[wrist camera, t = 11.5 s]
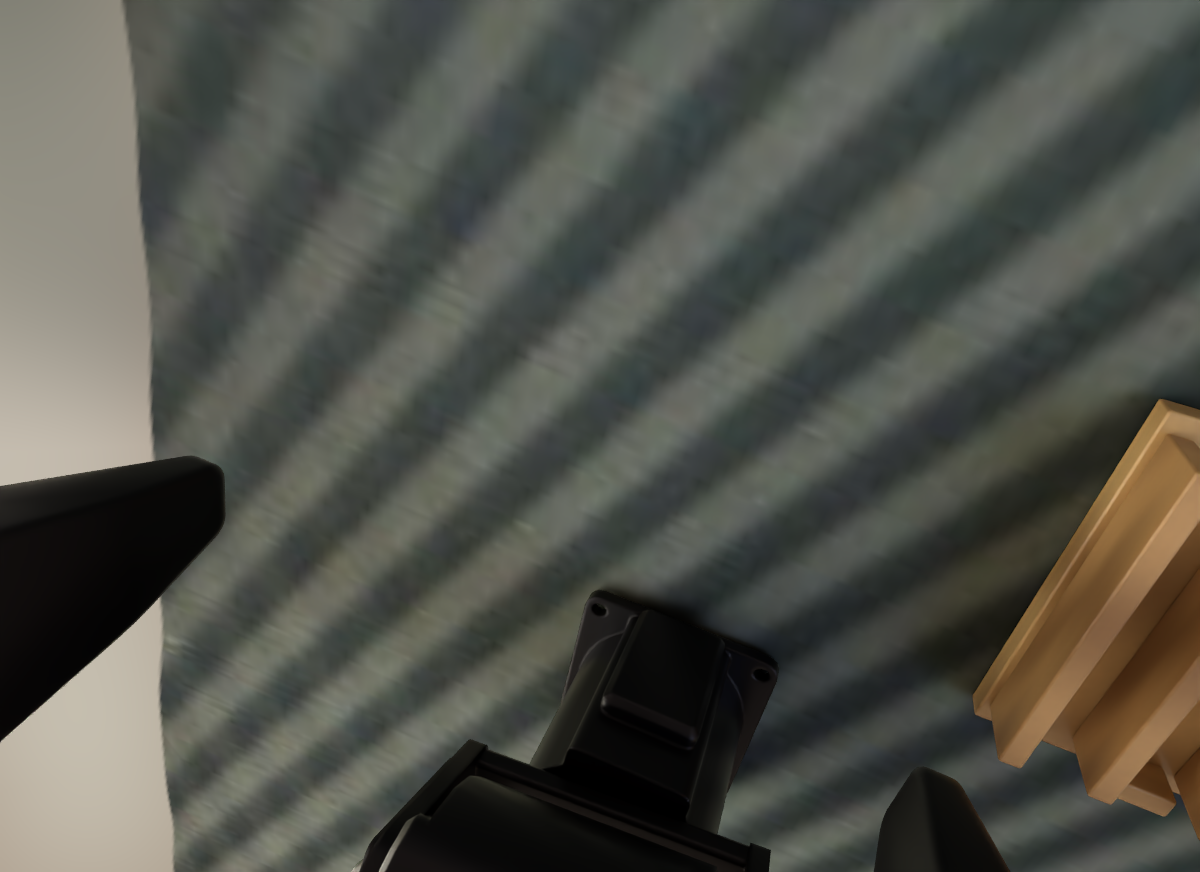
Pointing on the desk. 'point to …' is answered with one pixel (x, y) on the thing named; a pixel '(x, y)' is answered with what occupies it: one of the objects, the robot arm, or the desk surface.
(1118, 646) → the dish rack
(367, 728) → the desk surface
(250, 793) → the desk surface
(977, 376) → the desk surface
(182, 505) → the robot arm
